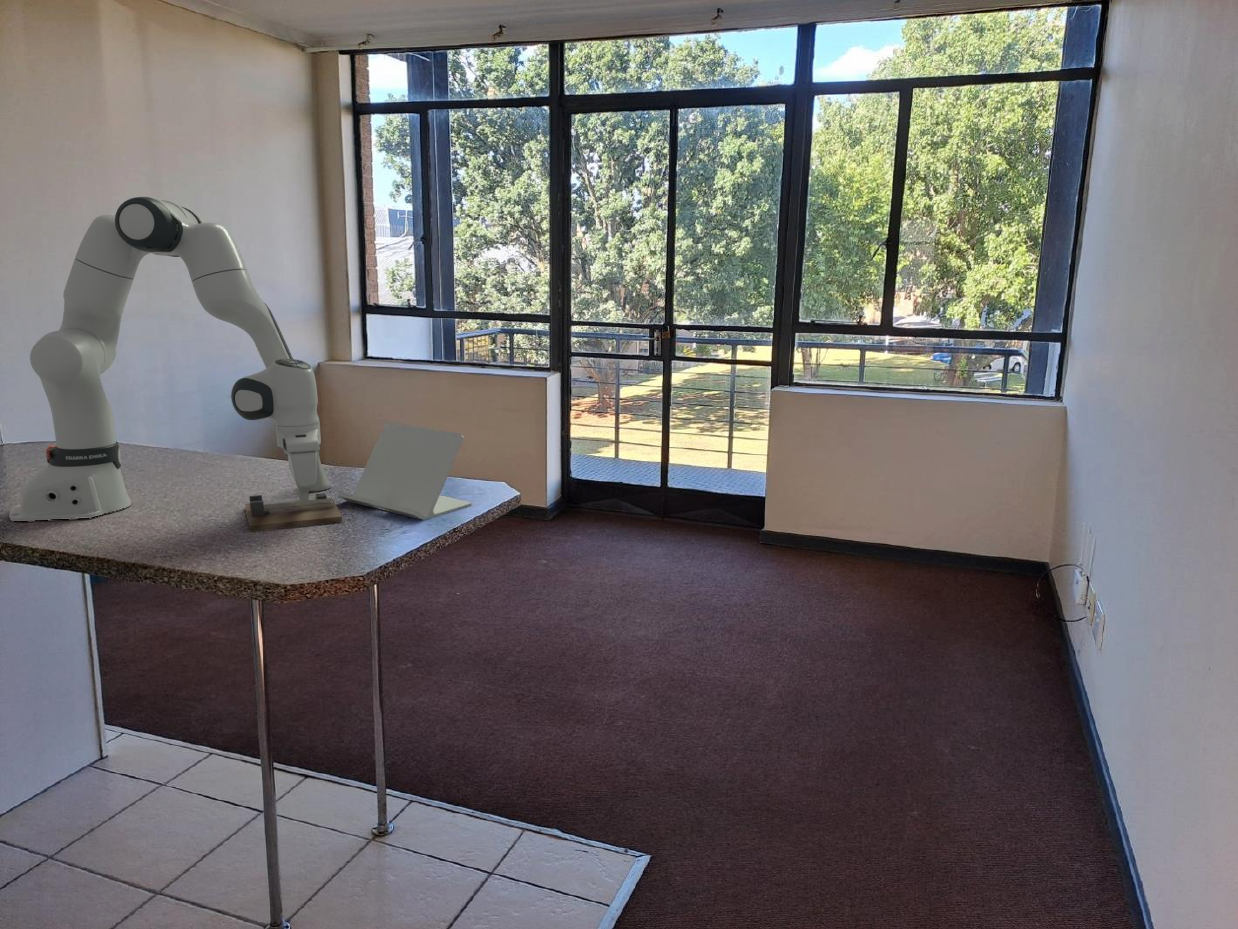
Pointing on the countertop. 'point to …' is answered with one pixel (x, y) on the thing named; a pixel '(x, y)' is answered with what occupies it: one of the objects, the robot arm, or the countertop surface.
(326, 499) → the upper tong arm
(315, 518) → the walnut board
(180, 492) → the countertop surface
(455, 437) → the tablet stand
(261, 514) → the lower tong arm
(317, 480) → the flask
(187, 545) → the countertop surface
